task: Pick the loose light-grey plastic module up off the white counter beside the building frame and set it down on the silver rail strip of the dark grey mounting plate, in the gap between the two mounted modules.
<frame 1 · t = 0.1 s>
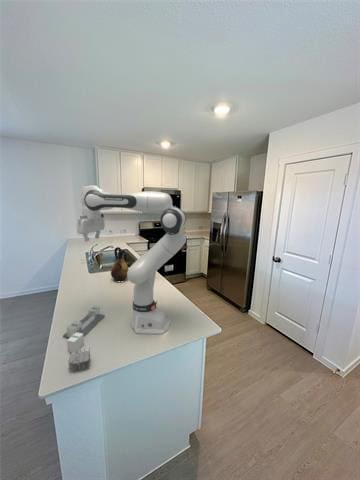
hand: (92, 239, 112), 48 cm above the worktop, fingers open, 8 cm apart
rail plate: (85, 326, 111), on the worktop
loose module: (76, 348, 95), on the worktop
ceramic jug: (119, 280, 179), on the worktop
building frame: (80, 366, 84), on the worktop
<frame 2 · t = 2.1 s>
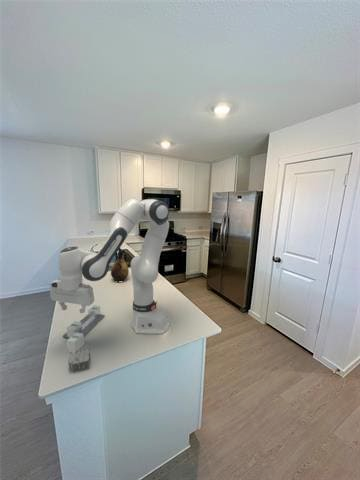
hand: (73, 311, 91), 19 cm above the worktop, fingers open, 8 cm apart
nothing on the worktop moved.
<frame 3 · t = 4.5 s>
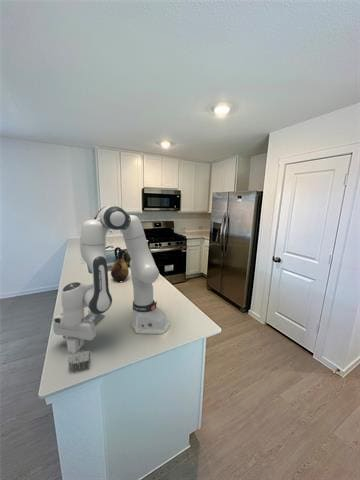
hand: (75, 344, 94), 2 cm above the worktop, fingers closed on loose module, 4 cm apart
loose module: (76, 347, 95), on the worktop, touching gripper
everything else where it was.
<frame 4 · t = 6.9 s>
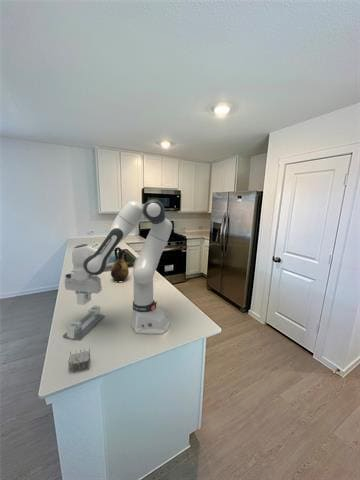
hand: (84, 298, 108), 17 cm above the worktop, fingers closed on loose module, 4 cm apart
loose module: (84, 302, 109), point 15 cm above the worktop, touching gripper
everything else where it was.
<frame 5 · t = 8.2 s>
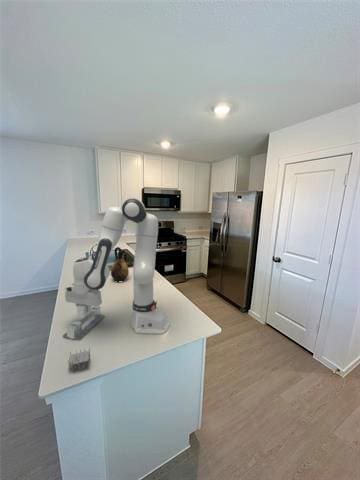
hand: (84, 310, 110), 9 cm above the worktop, fingers closed on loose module, 4 cm apart
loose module: (84, 314, 110), point 7 cm above the worktop, touching gripper
everything else where it was.
when the fingers open (5 cm above the worktop, at t = 9.4 s): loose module drops 1 cm, resting on rail plate.
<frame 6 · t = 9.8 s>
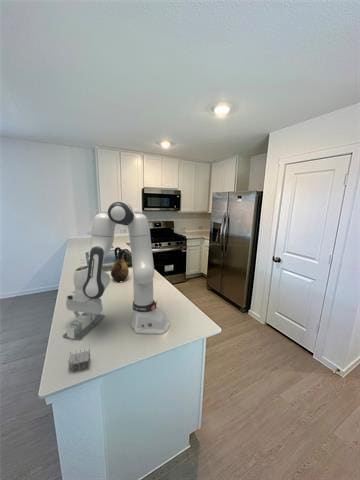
hand: (85, 318, 110), 5 cm above the worktop, fingers open, 8 cm apart
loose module: (85, 324, 111), point 1 cm above the worktop, touching rail plate
everything else where it was.
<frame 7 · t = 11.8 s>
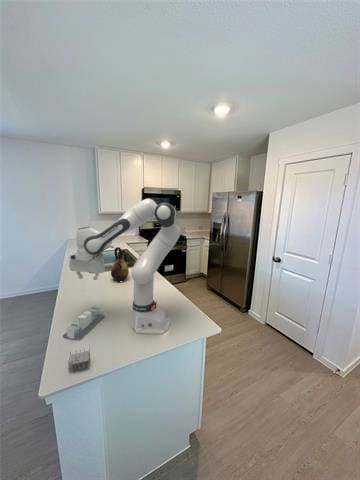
hand: (88, 278, 114), 25 cm above the worktop, fingers open, 8 cm apart
nothing on the worktop moved.
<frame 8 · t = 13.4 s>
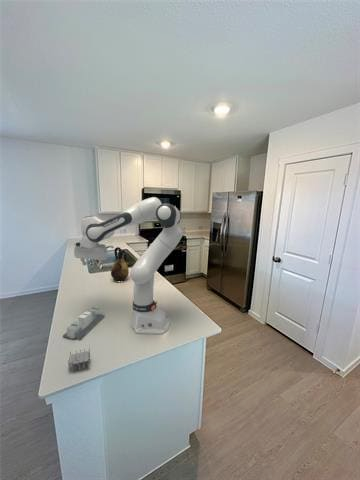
hand: (91, 265, 119), 31 cm above the worktop, fingers open, 8 cm apart
nothing on the worktop moved.
at the end: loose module inside the target area on the rail plate (0.0 cm from its centre), point 1.2 cm above the rail plate's base; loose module tilted 0°; the gripper is holding nothing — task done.
